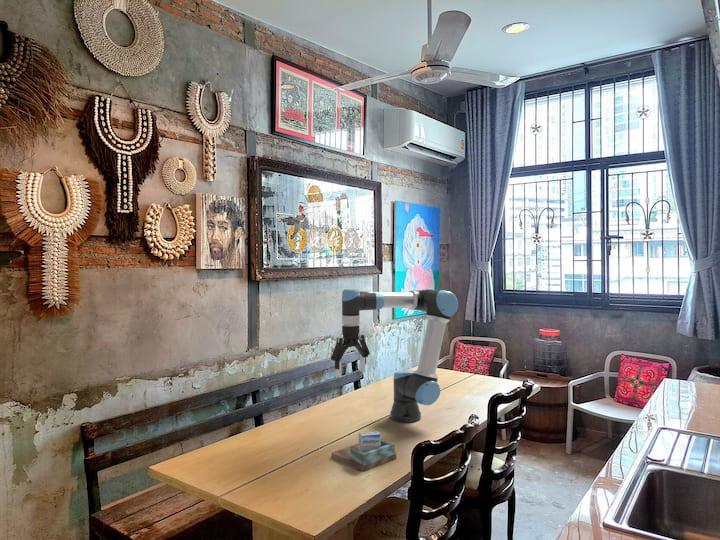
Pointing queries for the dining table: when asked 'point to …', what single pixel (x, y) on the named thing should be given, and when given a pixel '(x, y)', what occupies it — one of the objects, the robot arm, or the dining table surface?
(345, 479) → the dining table surface
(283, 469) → the dining table surface
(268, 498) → the dining table surface
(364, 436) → the medicine box
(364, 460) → the dock
